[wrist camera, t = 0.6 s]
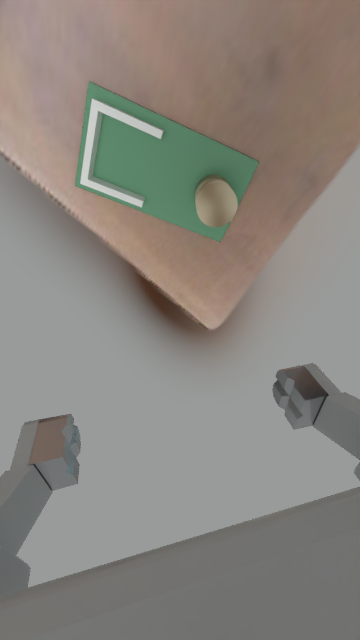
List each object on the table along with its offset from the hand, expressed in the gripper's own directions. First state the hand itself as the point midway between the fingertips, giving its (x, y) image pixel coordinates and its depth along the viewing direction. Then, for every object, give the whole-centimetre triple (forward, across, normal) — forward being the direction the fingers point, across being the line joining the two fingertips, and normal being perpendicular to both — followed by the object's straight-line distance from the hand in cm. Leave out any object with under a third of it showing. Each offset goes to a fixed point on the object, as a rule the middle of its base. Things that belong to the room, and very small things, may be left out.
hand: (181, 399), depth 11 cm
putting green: (+43, -8, -2) cm, 43 cm away
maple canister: (+40, -15, +1) cm, 43 cm away
